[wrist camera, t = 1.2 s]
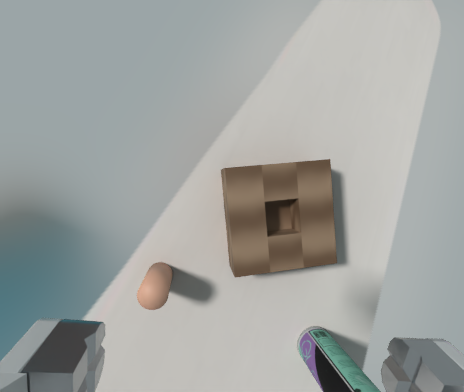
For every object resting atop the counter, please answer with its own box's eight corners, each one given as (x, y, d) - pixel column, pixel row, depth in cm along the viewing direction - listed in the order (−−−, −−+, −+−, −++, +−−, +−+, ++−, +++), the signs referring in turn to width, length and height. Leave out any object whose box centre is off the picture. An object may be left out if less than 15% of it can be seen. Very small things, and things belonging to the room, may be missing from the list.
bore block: (319, 253, 42) (336, 263, 37) (229, 265, 40) (234, 277, 35) (313, 162, 41) (330, 159, 36) (221, 169, 39) (225, 168, 34)
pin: (173, 284, 39) (169, 307, 32) (148, 288, 39) (138, 311, 32) (171, 260, 39) (166, 278, 32) (145, 264, 38) (135, 282, 31)
